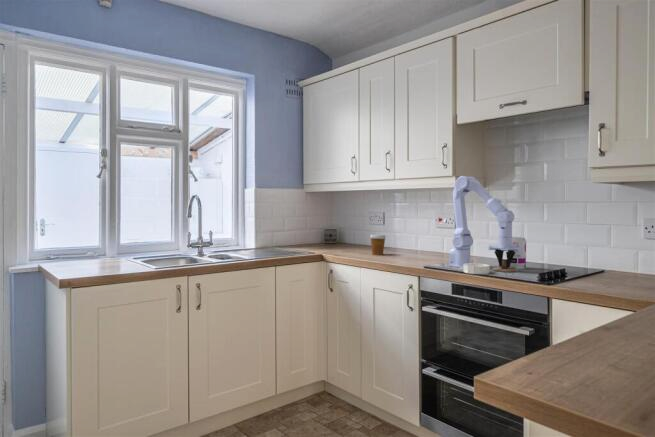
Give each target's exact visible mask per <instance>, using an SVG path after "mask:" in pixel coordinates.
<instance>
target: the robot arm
mask: <svg viewBox="0 0 655 437" xmlns="http://www.w3.org/2000/svg"><path fill="white" fill-rule="evenodd" d="M470 192H475V193H476V194H477V195H478V196H479V197H480V198H481V199H482V200H484V202H485V203H486V207H487V208H488V210H490V212H491V213H492V215H494V216H495V219H496V222H498V241H497V242H498V244H497V245H488V251H494V254H495V256H496V258H497V262H498V267H501V260H502V259H503V256H504V252H505V253H506V260H507V267H510V264H511V261H512V258H513V256H514V255H515V252H522V248H520V247H512V237H513V221H514V220H515V214H514V213H513V211H512V210H509V208H508V207H506V206H504V205H503V203H502V200H501V199H499V198H495V197H494V198H493V196H492V195H491V194H490V193H489V192H488V191H487V190H486V188H484V186H483V184H481V182H480V181H479V180H477V178H476V177H474V176H465V175H461V176H459V177H457V179H456V180H455V181H454V188H453V190H452V201H453V212H454V221H455V231H454V232H453V238H452V246H454V247H452V248H451V249H450V250H449V259H448V260H449V261H448V262H449V265H448V267H453V268H463V264H466V263H471V247H472V246H473V243H474V237H472V235H471V231H470V230H469V228H468V221H467V218H468V217H467V210H466V209H467V208H466V201H465V197H466V195H467V194H468V193H470ZM507 249H509V250H507ZM507 251H508V252H507Z"/></svg>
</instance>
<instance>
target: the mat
mask: <svg viewBox="0 0 655 437" xmlns="http://www.w3.org/2000/svg"><path fill="white" fill-rule="evenodd" d="M490 272H495V273H498V272H497V271H493V267H490ZM519 272H521V270H517V272H502V273H503V274H505V273H506V274H512V275H514V274H517V273H519Z"/></svg>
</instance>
